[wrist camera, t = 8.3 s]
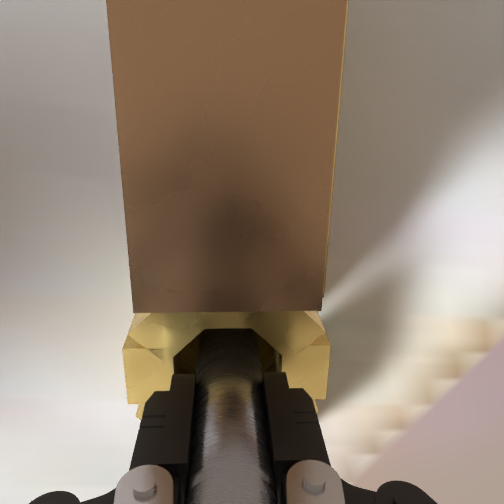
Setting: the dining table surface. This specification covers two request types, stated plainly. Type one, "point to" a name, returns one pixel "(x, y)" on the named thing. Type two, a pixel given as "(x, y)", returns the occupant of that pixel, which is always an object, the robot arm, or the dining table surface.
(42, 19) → the dining table surface
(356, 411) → the dining table surface
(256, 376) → the hinge pin
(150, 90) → the hinge block
